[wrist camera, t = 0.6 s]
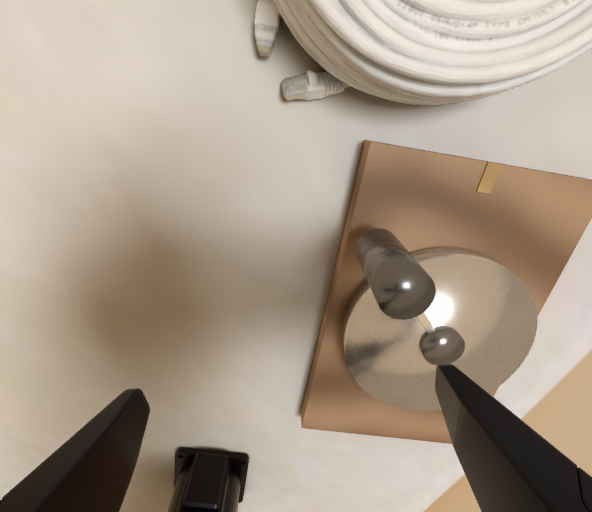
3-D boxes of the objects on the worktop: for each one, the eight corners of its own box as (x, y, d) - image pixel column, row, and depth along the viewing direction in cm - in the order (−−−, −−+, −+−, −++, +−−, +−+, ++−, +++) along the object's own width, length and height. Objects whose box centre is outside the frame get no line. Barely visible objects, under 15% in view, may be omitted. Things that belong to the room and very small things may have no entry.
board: (458, 429, 28) (467, 446, 27) (301, 412, 27) (301, 429, 26) (587, 179, 20) (611, 184, 18) (364, 139, 19) (371, 142, 17)
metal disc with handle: (546, 343, 22) (638, 426, 16) (395, 417, 25) (427, 510, 19) (455, 161, 17) (539, 185, 11) (278, 277, 20) (272, 345, 14)
